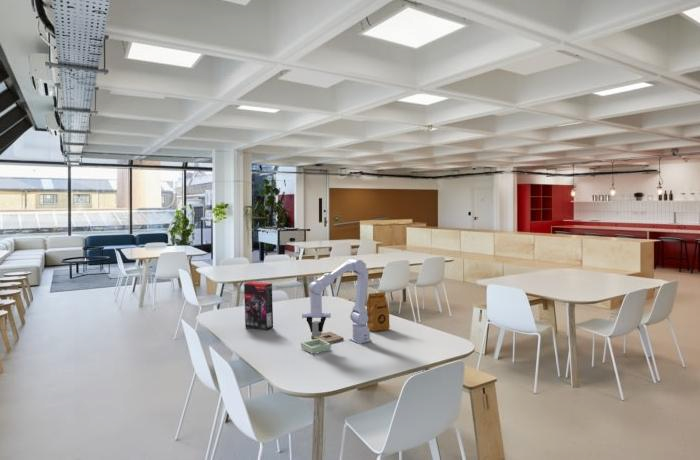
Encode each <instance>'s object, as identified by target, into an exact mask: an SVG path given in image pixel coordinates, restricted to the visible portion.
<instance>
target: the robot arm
mask: <svg viewBox="0 0 700 460" xmlns="http://www.w3.org/2000/svg"><path fill="white" fill-rule="evenodd" d="M346 272H353V273H354V274H355V275H356V276H357V279H356V280H357V282H356V291H355V293H356V294H355V303H354V305H353V307H352V309H351V312H350V315H349V316H350V320H351V321H352V337H351V338H349V340H350V341H352V342H354V343H356V342H357V343H356V344H359V345H360V344H365V343H368V342H371V341H372V340H371V335H370V334H371V330H370V329H369V327H367V321H368V316H367V307H366V303H367V302H366V300H367V292H368V290H367V289H368V280H369V272H368V269H367V264H366V263H365V262H364V261H363V260H361V259H355V258H352V257H351V258H349V259H348V260H345V261H344V263H342V264H341V265H340V266H339V267H337V268H336V269H334V270H333V271H332V272H331V273H328V272H327V273H324V274H322V276H321V277H320V278H317V279H316V280H315V281H312V282H310V284H309V286H308V287H307V288H308V291H309V293H310V296H309V297H310V298H309V299H310V312H307V313H302V314H301V318H302V319H306V323H307V324H308V326H309V329H310V333H312V322H313V319H315V318H316V319H319V318H320V320H319V321H321V333H323V329H324V325H325V321H326V320H327V318H328V319H331V318H332V316H331V313H328V312H323V308H322V307H323V303H322V302H323V301H322V300H323V299H322V297H323V295H322V294H323V292H324V290H325V289H326V288H328V287H329V286H330V285H333V283H334V282H335V279H337V278H338V277H340V276H341V275H343V274H345V273H346Z"/></svg>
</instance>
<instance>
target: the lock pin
mask: <svg viewBox="0 0 700 460" xmlns="http://www.w3.org/2000/svg"><path fill="white" fill-rule="evenodd" d="M321 333H322V332H321V320H319V321H318V320H314V321H312V332H311V335H312V336H314V337H319V336H321Z"/></svg>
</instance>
